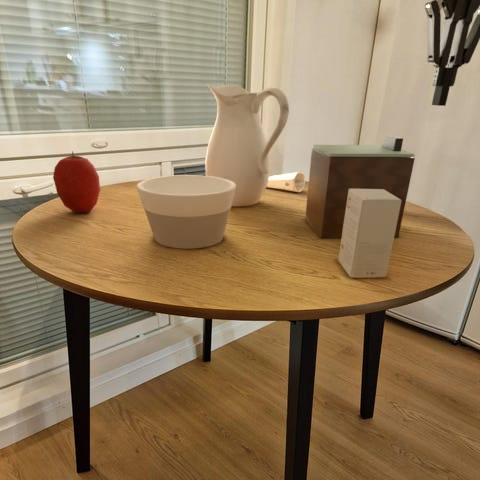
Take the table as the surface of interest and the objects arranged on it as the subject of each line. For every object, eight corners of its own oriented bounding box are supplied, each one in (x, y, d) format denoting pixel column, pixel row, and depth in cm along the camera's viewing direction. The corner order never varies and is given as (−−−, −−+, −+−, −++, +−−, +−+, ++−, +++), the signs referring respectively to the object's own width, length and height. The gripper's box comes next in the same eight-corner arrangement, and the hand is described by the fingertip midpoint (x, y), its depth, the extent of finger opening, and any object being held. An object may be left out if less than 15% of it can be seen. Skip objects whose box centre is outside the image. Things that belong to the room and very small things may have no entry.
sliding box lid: (386, 148, 94) (389, 133, 93) (414, 157, 83) (417, 140, 82) (312, 147, 93) (313, 132, 91) (329, 156, 81) (331, 139, 80)
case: (373, 218, 103) (386, 148, 95) (398, 237, 91) (414, 158, 83) (305, 219, 101) (311, 147, 93) (321, 238, 89) (330, 157, 81)
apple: (58, 208, 106) (47, 148, 99) (100, 205, 109) (92, 147, 102) (61, 219, 97) (48, 155, 91) (106, 215, 101) (97, 153, 94)
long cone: (255, 186, 141) (305, 189, 129) (243, 191, 137) (294, 194, 125) (254, 168, 138) (304, 169, 126) (241, 173, 134) (292, 174, 122)
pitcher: (193, 200, 115) (189, 83, 102) (239, 192, 125) (241, 84, 112) (253, 219, 100) (258, 85, 86) (300, 208, 110) (311, 86, 96)
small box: (386, 278, 71) (403, 199, 65) (349, 278, 71) (362, 199, 64) (371, 260, 78) (384, 188, 72) (337, 260, 78) (347, 187, 71)
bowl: (156, 221, 97) (153, 173, 92) (240, 226, 95) (241, 176, 90) (128, 250, 80) (121, 192, 75) (228, 256, 79) (229, 197, 73)
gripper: (494, -40, 78) (458, 105, 89) (426, -44, 76) (399, 103, 88) (522, -51, 71) (479, 106, 83) (448, -55, 70) (416, 105, 81)
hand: (438, 105), depth 85 cm, fingers closed
